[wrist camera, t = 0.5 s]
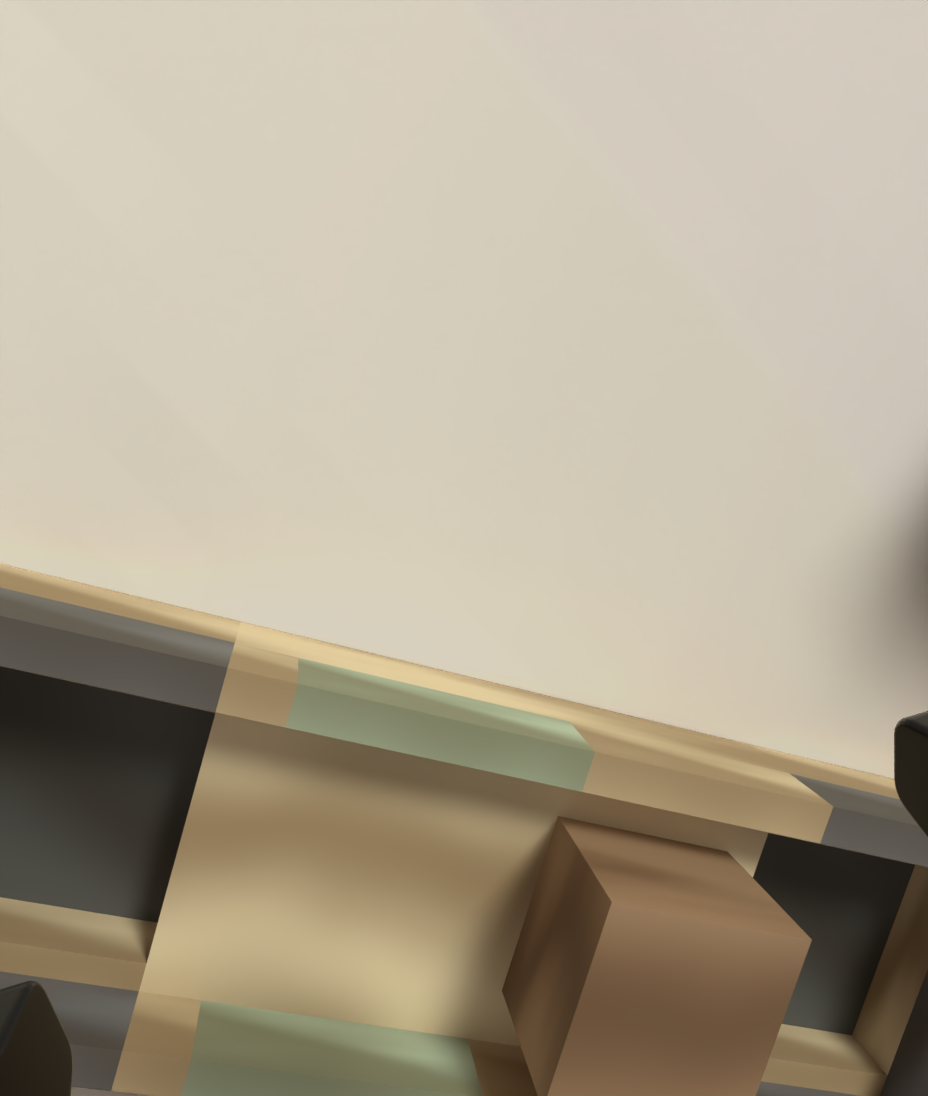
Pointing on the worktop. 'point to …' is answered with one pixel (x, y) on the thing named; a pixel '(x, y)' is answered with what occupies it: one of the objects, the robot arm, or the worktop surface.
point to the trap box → (383, 858)
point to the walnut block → (649, 968)
